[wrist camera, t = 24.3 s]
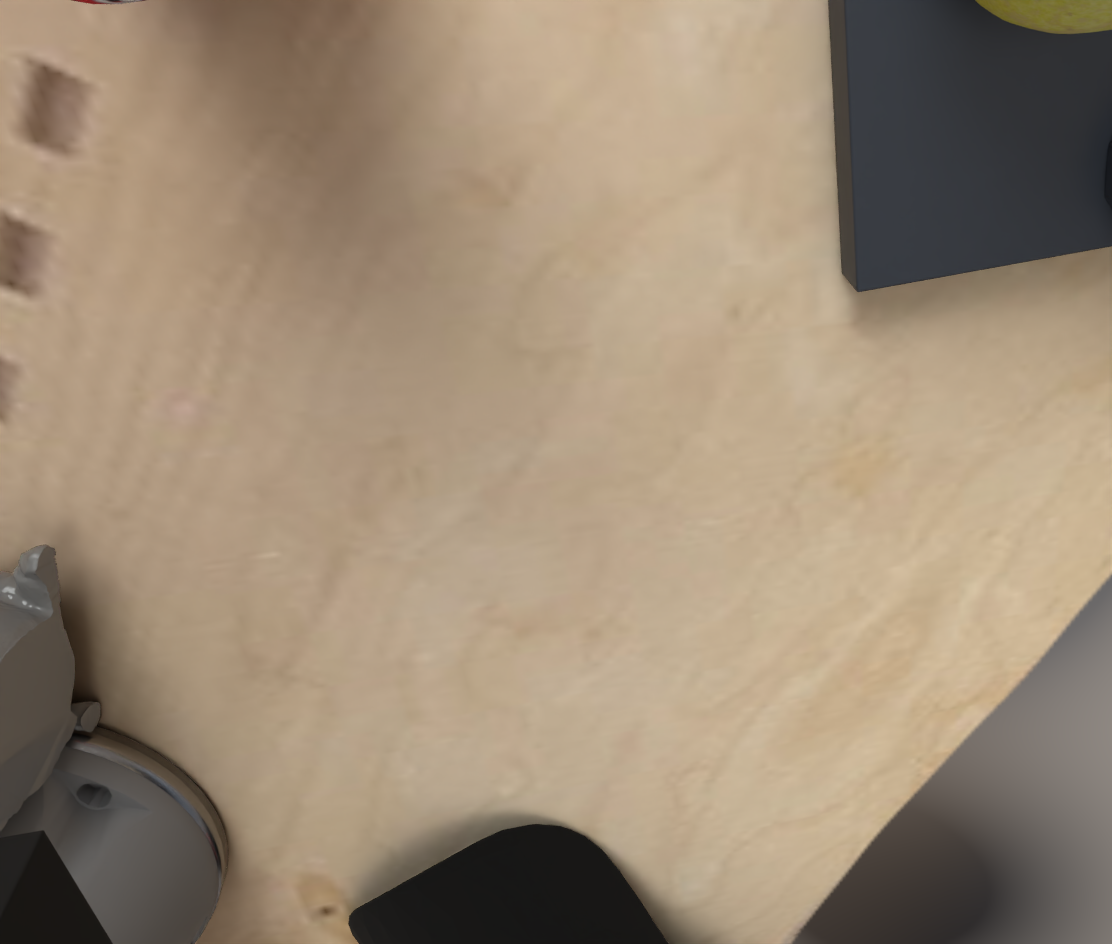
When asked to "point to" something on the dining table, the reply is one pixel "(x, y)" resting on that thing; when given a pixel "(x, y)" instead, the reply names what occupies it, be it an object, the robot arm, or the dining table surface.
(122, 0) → the soda can
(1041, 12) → the fruit
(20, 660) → the figurine
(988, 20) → the scale
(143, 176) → the dining table surface
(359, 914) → the baseball cap
